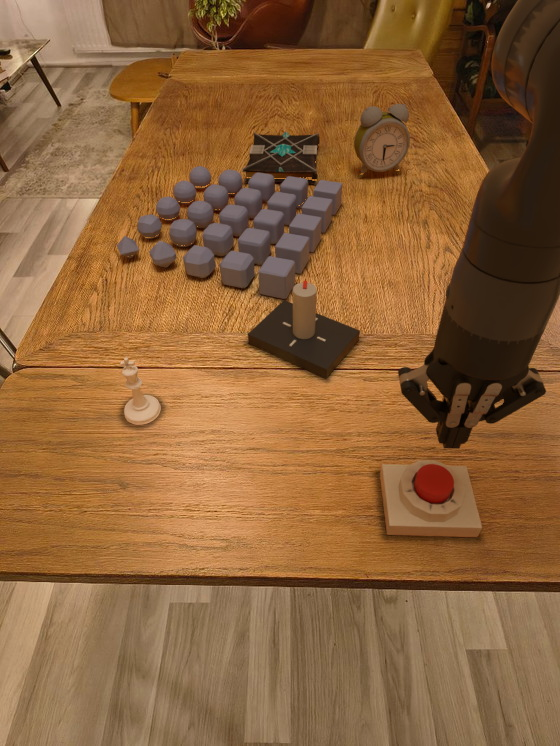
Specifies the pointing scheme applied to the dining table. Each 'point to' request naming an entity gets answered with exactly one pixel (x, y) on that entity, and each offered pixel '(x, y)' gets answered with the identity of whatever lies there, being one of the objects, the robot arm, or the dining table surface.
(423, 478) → the button
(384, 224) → the dining table surface
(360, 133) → the alarm clock
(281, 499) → the dining table surface
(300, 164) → the book
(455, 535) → the box
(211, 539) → the dining table surface
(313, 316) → the knob
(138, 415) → the chess piece
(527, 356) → the robot arm
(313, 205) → the blocks
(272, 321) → the panel
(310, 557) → the dining table surface
